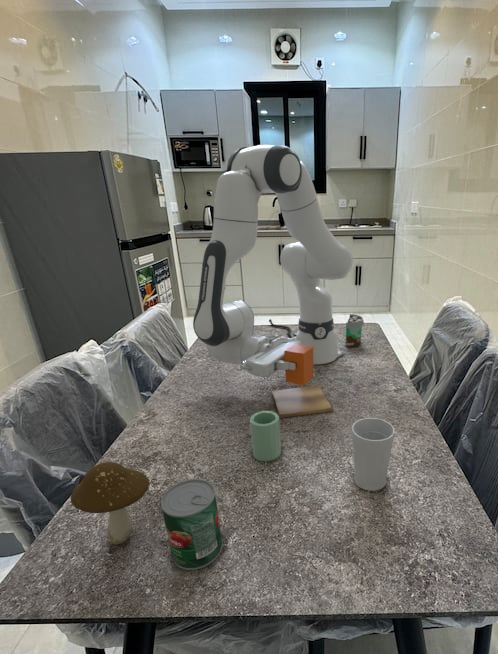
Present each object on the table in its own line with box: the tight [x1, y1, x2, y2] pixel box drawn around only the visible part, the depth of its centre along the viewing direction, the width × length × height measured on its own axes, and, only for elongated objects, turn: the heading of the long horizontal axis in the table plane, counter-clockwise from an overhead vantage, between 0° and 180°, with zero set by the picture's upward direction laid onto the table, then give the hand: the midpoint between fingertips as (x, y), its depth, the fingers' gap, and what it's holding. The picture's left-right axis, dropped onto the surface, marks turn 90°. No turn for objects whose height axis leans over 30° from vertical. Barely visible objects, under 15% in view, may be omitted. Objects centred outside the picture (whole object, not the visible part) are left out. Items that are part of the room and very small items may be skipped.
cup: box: [351, 417, 396, 492], centre depth 74 cm, size 8×8×12 cm
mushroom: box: [70, 461, 151, 545], centre depth 61 cm, size 9×11×15 cm
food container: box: [345, 313, 365, 348], centre depth 147 cm, size 12×6×10 cm, turn 168°
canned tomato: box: [160, 478, 224, 571], centre depth 60 cm, size 8×8×11 cm
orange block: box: [284, 344, 315, 387], centre depth 102 cm, size 6×6×9 cm
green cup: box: [249, 410, 282, 462], centre depth 84 cm, size 6×6×9 cm
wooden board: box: [272, 385, 333, 419], centre depth 106 cm, size 14×14×1 cm
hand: (302, 361), depth 101 cm, fingers closed on orange block, 5 cm apart
